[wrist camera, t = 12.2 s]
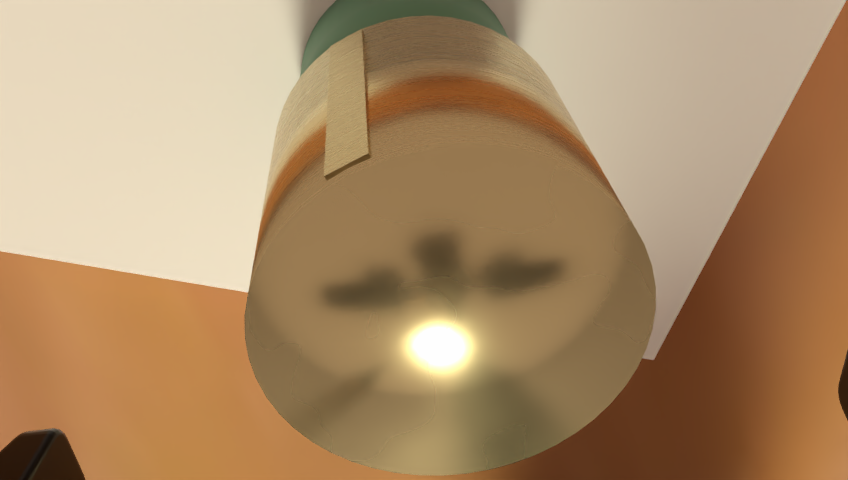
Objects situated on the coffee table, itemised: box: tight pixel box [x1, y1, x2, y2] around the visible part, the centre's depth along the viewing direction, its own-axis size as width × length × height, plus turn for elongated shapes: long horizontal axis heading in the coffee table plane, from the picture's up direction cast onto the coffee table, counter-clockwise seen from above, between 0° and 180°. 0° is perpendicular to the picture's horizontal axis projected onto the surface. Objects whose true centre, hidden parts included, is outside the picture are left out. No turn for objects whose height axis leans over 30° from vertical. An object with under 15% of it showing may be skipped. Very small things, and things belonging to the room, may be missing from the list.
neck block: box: [0, 0, 846, 360], centre depth 17 cm, size 18×13×5 cm
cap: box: [245, 16, 656, 475], centre depth 13 cm, size 5×6×5 cm
